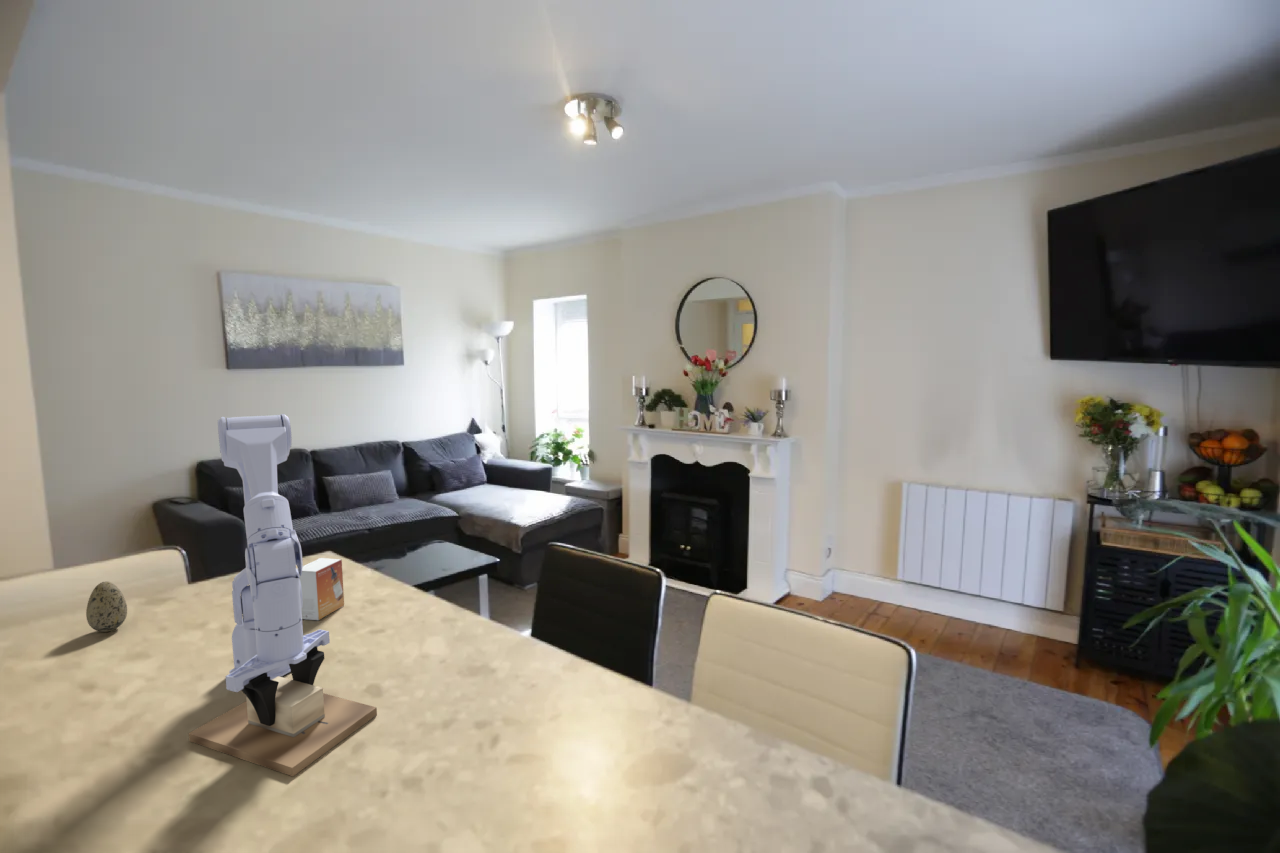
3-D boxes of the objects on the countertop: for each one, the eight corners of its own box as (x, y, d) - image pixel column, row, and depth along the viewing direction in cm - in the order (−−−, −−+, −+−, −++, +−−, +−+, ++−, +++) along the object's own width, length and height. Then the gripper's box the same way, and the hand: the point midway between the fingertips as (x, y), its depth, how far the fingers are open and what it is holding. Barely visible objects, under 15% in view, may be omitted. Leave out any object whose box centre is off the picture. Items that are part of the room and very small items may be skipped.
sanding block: (248, 723, 84) (245, 693, 84) (280, 704, 89) (278, 676, 88) (293, 737, 81) (291, 706, 81) (324, 716, 86) (322, 687, 85)
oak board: (189, 741, 82) (188, 733, 82) (281, 688, 95) (280, 681, 95) (293, 776, 75) (292, 767, 75) (376, 714, 88) (376, 707, 88)
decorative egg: (88, 630, 116) (83, 581, 115) (128, 621, 120) (123, 574, 119) (88, 640, 112) (82, 590, 111) (129, 631, 116) (124, 582, 115)
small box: (318, 621, 120) (315, 571, 119) (294, 619, 121) (291, 570, 120) (345, 605, 128) (342, 558, 126) (323, 603, 129) (320, 557, 127)
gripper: (248, 651, 75) (257, 749, 77) (342, 606, 89) (347, 691, 90) (211, 641, 78) (220, 737, 79) (308, 599, 91) (313, 682, 93)
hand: (285, 712), depth 85 cm, fingers closed on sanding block, 5 cm apart
